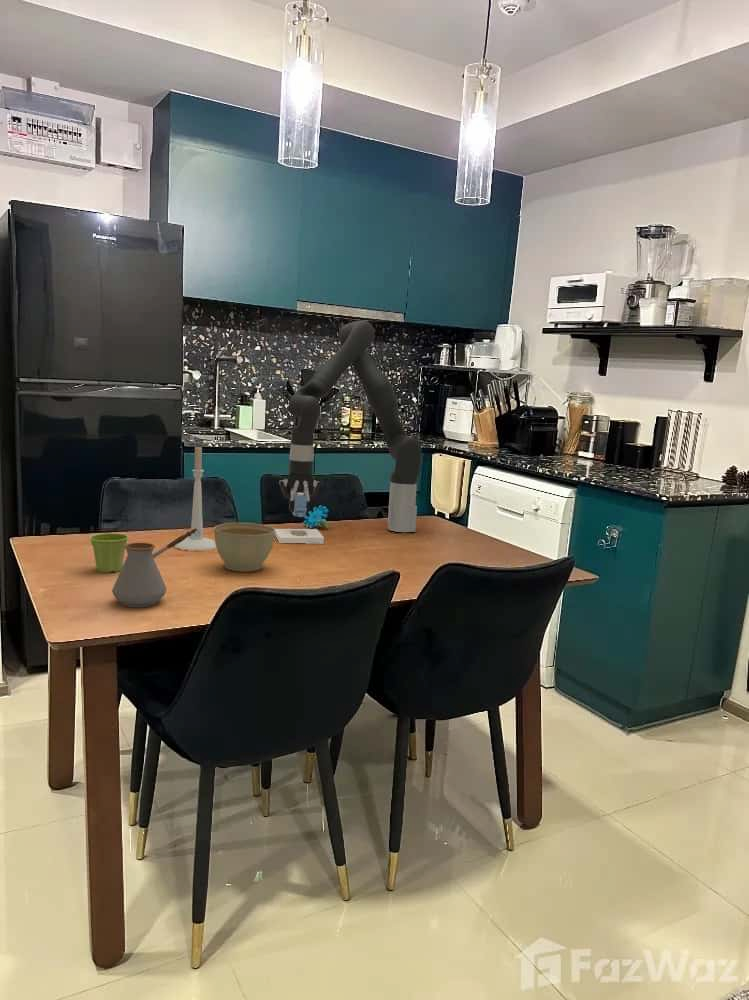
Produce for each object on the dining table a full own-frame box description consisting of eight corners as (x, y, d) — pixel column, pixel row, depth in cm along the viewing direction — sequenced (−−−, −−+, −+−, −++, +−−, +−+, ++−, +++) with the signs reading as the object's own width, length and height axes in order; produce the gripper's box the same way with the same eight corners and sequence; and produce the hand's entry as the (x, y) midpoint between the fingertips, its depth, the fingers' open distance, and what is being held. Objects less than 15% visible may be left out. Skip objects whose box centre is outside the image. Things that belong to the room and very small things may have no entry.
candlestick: (217, 542, 226) (219, 444, 221) (219, 551, 214) (222, 448, 209) (174, 542, 222) (175, 443, 218) (174, 552, 210) (175, 447, 205)
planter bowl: (248, 579, 186) (249, 537, 185) (200, 568, 194) (200, 528, 192) (285, 567, 200) (287, 528, 199) (239, 557, 208) (240, 520, 206)
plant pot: (82, 572, 184) (82, 539, 182) (101, 564, 193) (101, 531, 191) (117, 576, 182) (117, 542, 181) (134, 567, 192) (135, 534, 190)
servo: (302, 512, 240) (303, 490, 239) (306, 517, 231) (307, 494, 230) (291, 511, 239) (292, 489, 238) (295, 517, 231) (296, 494, 229)
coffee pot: (130, 613, 155) (131, 544, 153) (101, 601, 162) (101, 534, 160) (212, 595, 172) (213, 532, 169) (182, 584, 179) (183, 523, 176)
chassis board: (316, 535, 244) (316, 529, 244) (323, 543, 232) (323, 537, 231) (274, 534, 240) (274, 528, 240) (279, 543, 228) (279, 537, 228)
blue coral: (297, 520, 258) (318, 500, 260) (307, 531, 262) (327, 511, 264) (311, 530, 250) (332, 510, 251) (321, 541, 253) (341, 521, 255)
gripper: (321, 458, 238) (318, 510, 241) (277, 456, 234) (275, 509, 237) (325, 461, 231) (322, 515, 233) (280, 459, 227) (278, 514, 230)
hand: (298, 512), depth 235 cm, fingers closed on servo, 3 cm apart
